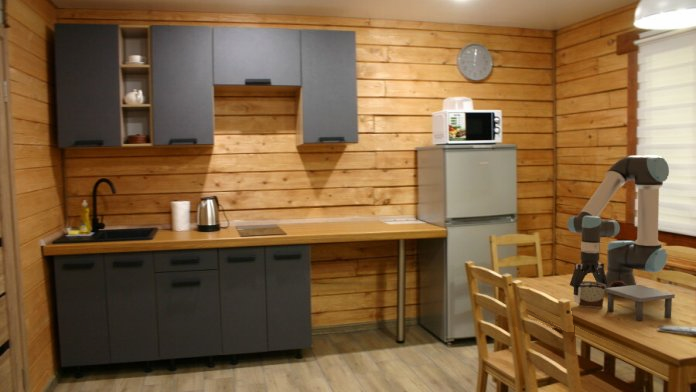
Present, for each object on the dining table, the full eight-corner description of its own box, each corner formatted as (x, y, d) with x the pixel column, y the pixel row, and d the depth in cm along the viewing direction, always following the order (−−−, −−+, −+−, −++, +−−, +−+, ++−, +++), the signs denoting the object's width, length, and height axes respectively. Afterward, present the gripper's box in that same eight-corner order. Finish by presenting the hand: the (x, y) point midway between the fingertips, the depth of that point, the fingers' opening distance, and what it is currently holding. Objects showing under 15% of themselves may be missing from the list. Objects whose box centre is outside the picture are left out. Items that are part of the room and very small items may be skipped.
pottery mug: (636, 300, 265) (630, 285, 263) (616, 308, 267) (610, 294, 265) (626, 287, 276) (620, 273, 274) (606, 295, 278) (600, 281, 276)
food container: (604, 304, 256) (605, 282, 255) (606, 308, 250) (606, 285, 249) (574, 302, 260) (575, 280, 259) (575, 305, 254) (575, 283, 254)
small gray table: (638, 306, 253) (638, 284, 252) (673, 317, 236) (674, 294, 235) (604, 310, 247) (605, 288, 246) (639, 322, 230) (639, 298, 229)
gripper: (574, 253, 246) (571, 305, 247) (617, 252, 253) (615, 302, 255) (562, 251, 253) (560, 301, 254) (605, 249, 261) (602, 298, 262)
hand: (587, 301), depth 255 cm, fingers open, 11 cm apart
